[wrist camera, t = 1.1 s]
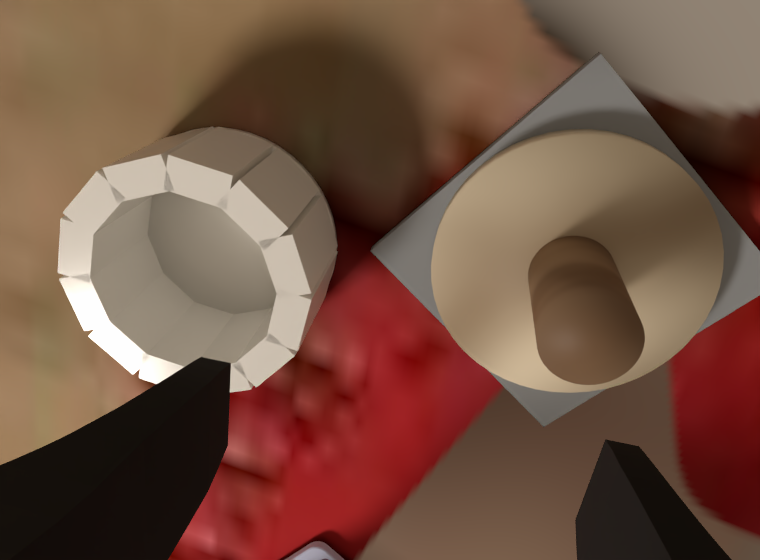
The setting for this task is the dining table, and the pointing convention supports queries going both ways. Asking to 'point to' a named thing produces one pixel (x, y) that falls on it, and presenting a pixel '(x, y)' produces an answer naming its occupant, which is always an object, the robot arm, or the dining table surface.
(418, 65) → the dining table surface
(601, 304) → the lid
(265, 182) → the bowl
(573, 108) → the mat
